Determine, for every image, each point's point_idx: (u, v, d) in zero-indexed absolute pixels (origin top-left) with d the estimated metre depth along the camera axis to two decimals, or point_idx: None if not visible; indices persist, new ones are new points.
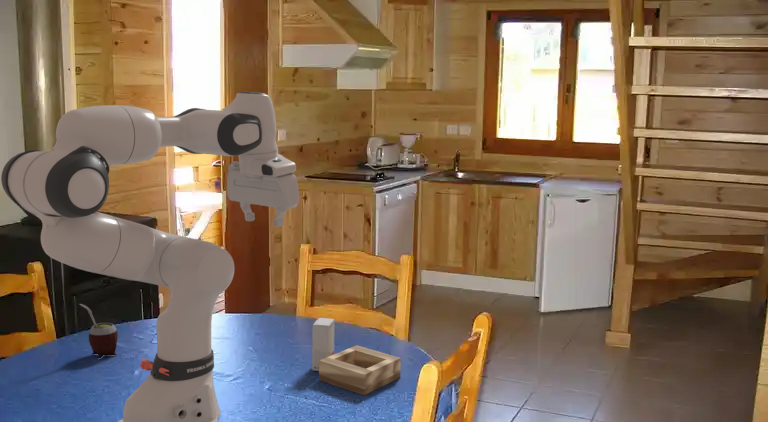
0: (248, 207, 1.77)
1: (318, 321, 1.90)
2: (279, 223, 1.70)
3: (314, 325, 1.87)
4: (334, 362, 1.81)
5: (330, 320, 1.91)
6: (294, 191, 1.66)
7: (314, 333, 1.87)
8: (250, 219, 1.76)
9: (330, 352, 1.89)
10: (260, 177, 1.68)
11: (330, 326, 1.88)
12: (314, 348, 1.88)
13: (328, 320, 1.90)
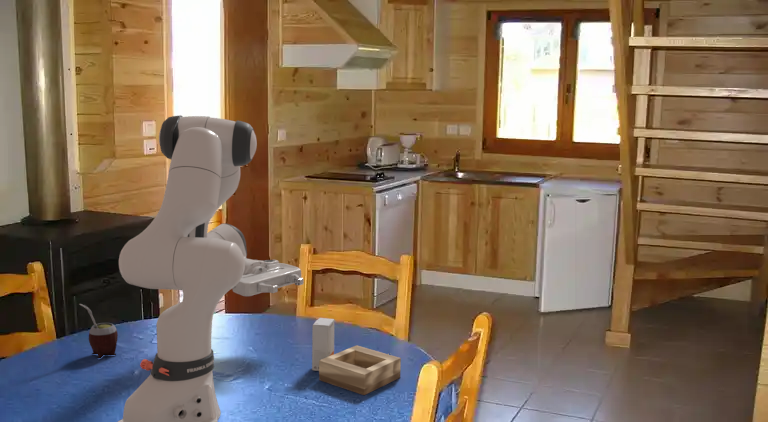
0: None
1: (318, 321, 1.90)
2: None
3: (314, 325, 1.87)
4: (334, 362, 1.81)
5: (330, 320, 1.91)
6: None
7: (314, 333, 1.87)
8: None
9: (330, 352, 1.89)
10: None
11: (330, 326, 1.88)
12: (314, 348, 1.88)
13: (328, 320, 1.90)
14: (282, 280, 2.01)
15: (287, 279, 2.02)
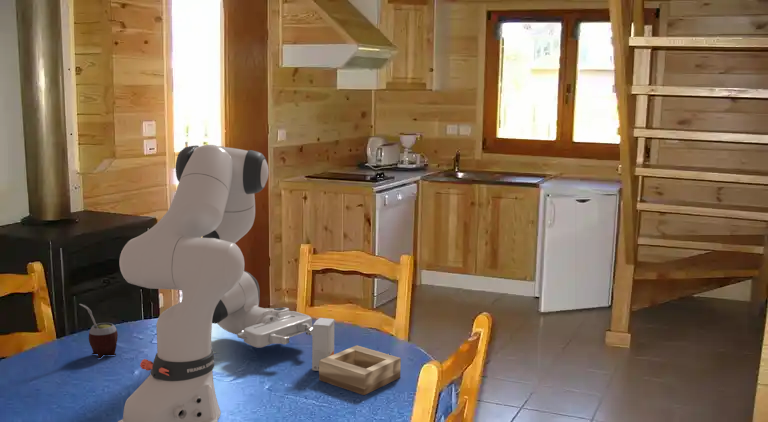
0: None
1: (318, 321, 1.90)
2: None
3: (314, 325, 1.87)
4: (334, 362, 1.81)
5: (330, 320, 1.91)
6: None
7: (314, 333, 1.87)
8: None
9: (330, 352, 1.89)
10: None
11: (330, 326, 1.88)
12: (314, 348, 1.88)
13: (328, 320, 1.90)
14: (293, 329, 2.01)
15: (298, 328, 2.02)
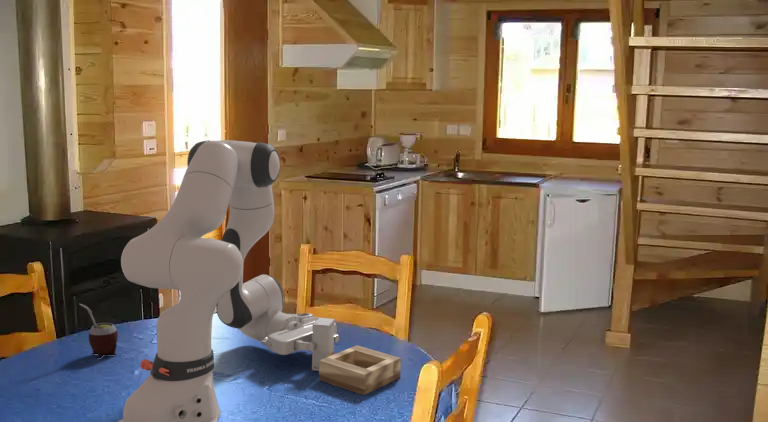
0: None
1: (318, 321, 1.90)
2: None
3: (314, 325, 1.87)
4: (334, 362, 1.81)
5: (330, 320, 1.91)
6: None
7: (314, 333, 1.87)
8: None
9: (330, 352, 1.89)
10: None
11: (330, 326, 1.88)
12: None
13: (328, 320, 1.90)
14: None
15: None
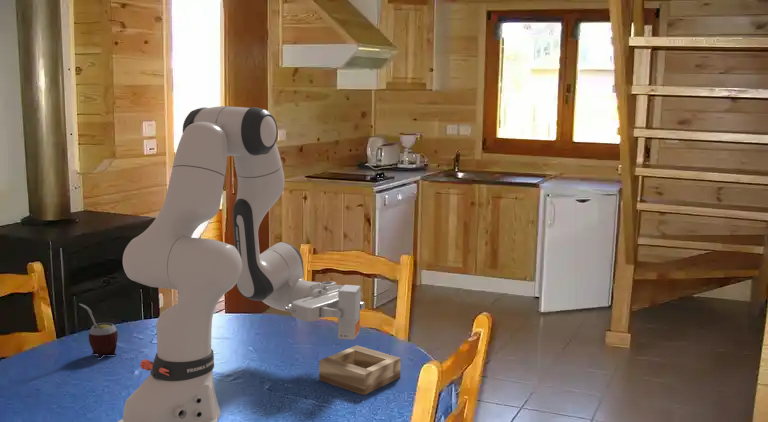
0: None
1: (344, 288, 1.83)
2: None
3: (340, 291, 1.80)
4: (334, 362, 1.81)
5: (356, 287, 1.84)
6: None
7: (340, 300, 1.81)
8: None
9: (356, 320, 1.83)
10: None
11: (356, 293, 1.81)
12: None
13: (354, 287, 1.84)
14: None
15: None
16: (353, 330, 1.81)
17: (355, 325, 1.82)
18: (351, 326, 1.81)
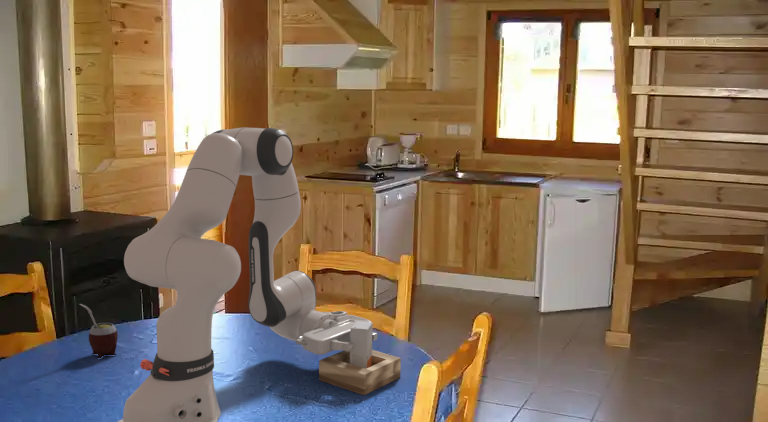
0: None
1: (356, 324, 1.82)
2: None
3: (352, 329, 1.80)
4: (334, 362, 1.81)
5: (368, 324, 1.83)
6: None
7: (352, 337, 1.80)
8: None
9: (368, 357, 1.82)
10: None
11: (369, 330, 1.81)
12: (352, 353, 1.81)
13: (366, 323, 1.83)
14: None
15: None
16: (365, 367, 1.81)
17: (367, 362, 1.81)
18: (363, 363, 1.81)
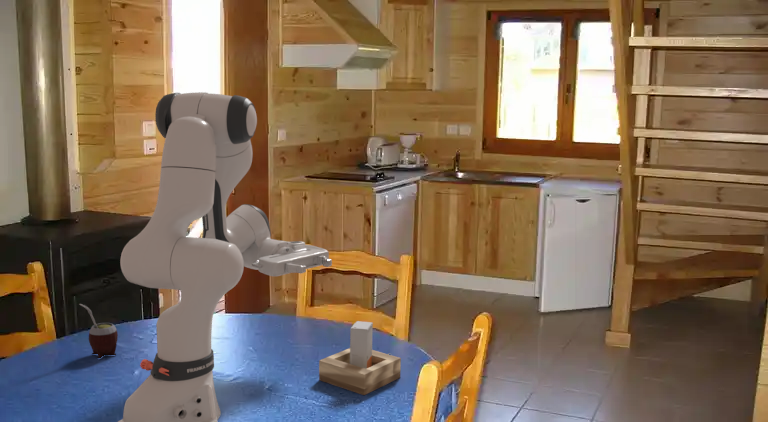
0: None
1: (356, 324, 1.82)
2: None
3: (352, 329, 1.80)
4: (334, 362, 1.81)
5: (368, 323, 1.83)
6: None
7: (352, 337, 1.80)
8: None
9: (368, 357, 1.82)
10: None
11: (369, 330, 1.81)
12: (352, 353, 1.81)
13: (366, 323, 1.83)
14: (309, 261, 1.94)
15: (314, 260, 1.95)
16: (365, 367, 1.81)
17: (367, 362, 1.81)
18: (363, 363, 1.81)
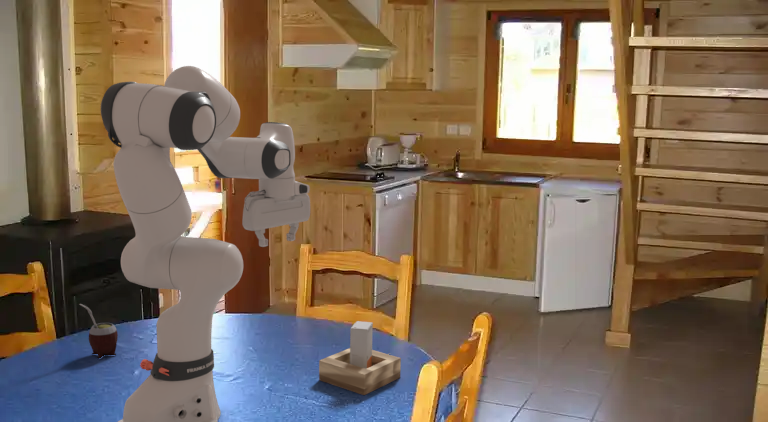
0: None
1: (356, 324, 1.82)
2: None
3: (352, 329, 1.80)
4: (334, 362, 1.81)
5: (368, 323, 1.83)
6: None
7: (352, 337, 1.80)
8: None
9: (368, 357, 1.82)
10: None
11: (369, 330, 1.81)
12: (352, 353, 1.81)
13: (366, 323, 1.83)
14: None
15: None
16: (365, 367, 1.81)
17: (367, 362, 1.81)
18: (363, 363, 1.81)
